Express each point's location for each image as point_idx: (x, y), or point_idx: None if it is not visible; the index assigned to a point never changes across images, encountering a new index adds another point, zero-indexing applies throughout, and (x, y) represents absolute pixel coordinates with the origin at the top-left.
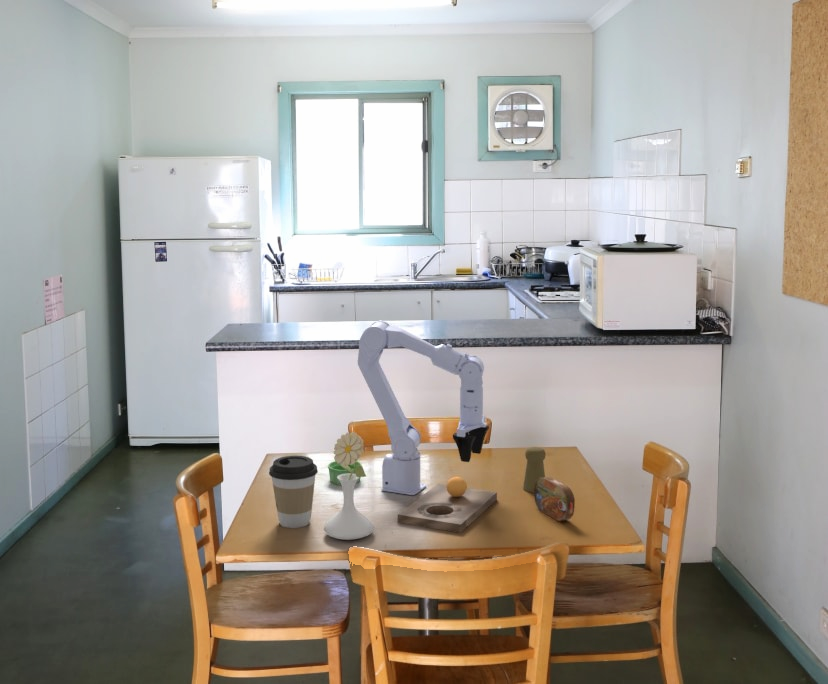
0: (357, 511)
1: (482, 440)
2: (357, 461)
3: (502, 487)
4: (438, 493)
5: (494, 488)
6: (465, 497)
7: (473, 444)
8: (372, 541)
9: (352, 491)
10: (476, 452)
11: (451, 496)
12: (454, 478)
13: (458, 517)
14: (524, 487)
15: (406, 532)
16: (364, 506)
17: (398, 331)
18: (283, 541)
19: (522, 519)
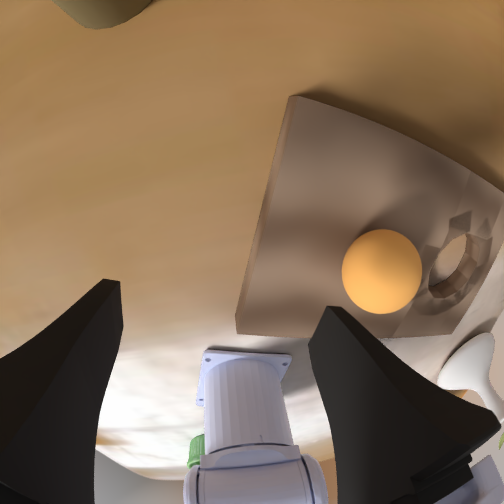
0: (485, 371)
1: (71, 349)
2: (191, 463)
3: (119, 104)
4: None
5: (140, 132)
6: (373, 219)
7: (103, 369)
8: (488, 320)
9: (500, 398)
10: (118, 306)
11: None
12: (408, 299)
13: (495, 214)
14: (131, 11)
15: (481, 292)
16: None
17: None
18: (451, 391)
19: (443, 30)
